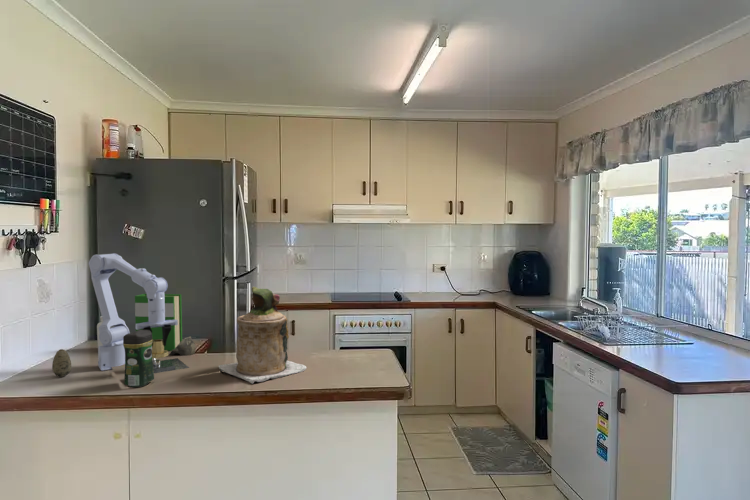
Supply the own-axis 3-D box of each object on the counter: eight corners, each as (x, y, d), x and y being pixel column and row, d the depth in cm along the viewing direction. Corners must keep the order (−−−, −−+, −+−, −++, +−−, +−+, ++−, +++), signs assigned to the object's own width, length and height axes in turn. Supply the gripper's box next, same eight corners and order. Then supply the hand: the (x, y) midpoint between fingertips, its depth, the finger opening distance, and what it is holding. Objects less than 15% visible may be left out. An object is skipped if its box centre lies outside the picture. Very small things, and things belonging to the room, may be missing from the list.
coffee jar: (137, 379, 184) (136, 327, 183) (157, 380, 183) (156, 328, 182) (119, 387, 174) (118, 333, 173) (141, 388, 173) (139, 334, 172)
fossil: (169, 351, 221) (181, 330, 223) (189, 360, 224) (200, 339, 225) (168, 357, 211) (180, 334, 212) (189, 365, 214) (201, 343, 215)
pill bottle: (102, 347, 232) (101, 314, 231) (120, 346, 233) (119, 314, 232) (94, 351, 224) (93, 317, 223) (113, 351, 225) (112, 317, 224)
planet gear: (149, 359, 189) (149, 343, 189) (145, 355, 195) (145, 340, 194) (169, 356, 193) (169, 341, 193) (165, 352, 199) (164, 337, 198)
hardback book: (182, 347, 232) (181, 294, 231) (174, 351, 225) (173, 296, 224) (145, 346, 234) (144, 293, 233) (136, 350, 227) (134, 296, 226)
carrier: (147, 377, 187) (146, 366, 186) (137, 366, 200) (137, 356, 200) (189, 370, 195) (189, 359, 195) (177, 360, 209) (177, 350, 209)
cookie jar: (253, 385, 177) (252, 293, 175) (215, 371, 193) (214, 287, 192) (309, 370, 195) (308, 286, 193) (270, 359, 212) (269, 281, 210)
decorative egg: (75, 374, 190) (74, 347, 189) (62, 379, 184) (61, 351, 183) (62, 373, 191) (61, 346, 191) (48, 378, 185) (47, 350, 185)
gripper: (137, 313, 185) (138, 350, 186) (179, 309, 194) (180, 345, 195) (134, 311, 191) (134, 347, 192) (174, 307, 200) (175, 342, 200)
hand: (157, 346), depth 194 cm, fingers closed on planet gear, 4 cm apart
